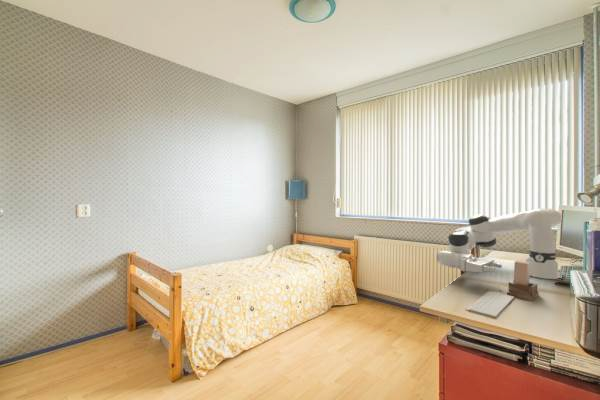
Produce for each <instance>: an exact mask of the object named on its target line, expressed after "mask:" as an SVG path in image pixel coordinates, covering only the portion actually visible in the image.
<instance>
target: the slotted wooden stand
mask: <svg viewBox="0 0 600 400" xmlns="http://www.w3.org/2000/svg"><path fill="white" fill-rule="evenodd" d="M507 293H508V294H507ZM513 294H514V295H513ZM506 295H509V296H514V299H515V298H517V299H520V300H524V301H528V302H531V301H533V300H534V299H535V298H536V297H537V296H539V291H538V283H533V282H529V286H525V285H520V284H516V283H514V280H513V282H510V281H509V282H508V291H507V292H506Z"/></svg>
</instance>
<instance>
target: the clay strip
mask: <svg viewBox="0 0 600 400" xmlns="http://www.w3.org/2000/svg"><path fill="white" fill-rule="evenodd" d="M513 266H514V267H513V268H514V271H513V273H514V274H513V281H514V283H516V284H520V285H525V286H529V283H531V282H530V280H531V279H530V278H531V276H530V262H526V261H521V260H515V261H514V265H513Z"/></svg>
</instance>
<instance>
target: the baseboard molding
mask: <svg viewBox="0 0 600 400" xmlns="http://www.w3.org/2000/svg"><path fill="white" fill-rule="evenodd" d="M494 291H495V290H493V289H492V291H490V292H489V291H488V289H486V290H484V292H485V293H484V294H483V295H482V296H480V297H479V298H478V299H477V300H476V301H474V302H473V303H471V304H470V305H469V306H468V307H466V309H465V311H467V312H471V313H475V314H478V315H480V316H485V317H488V318H491V319H492V318H493V319H496V318H497V317H498V316H499V315H500V314H501V313H502V312H503V310H504V309H506V308H507V306H508V305H509V304H510V303H511V302H512V301H513V299H515V297H514V296H509V295H507V294H508V293H507V292H506V293H504V292H503V291H502V290H499V293H498V292H496V291H495V292H494ZM502 293H504V294H502ZM513 295H514V294H513Z"/></svg>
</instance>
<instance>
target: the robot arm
mask: <svg viewBox="0 0 600 400" xmlns="http://www.w3.org/2000/svg"><path fill="white" fill-rule="evenodd" d="M562 221H563V215H562V213H560V211H558V210H555V209H553V208H535V209H532V210H529V211H522V212H517V213H509V214H505V215H500V216H497V217H492V218H490V217H489V216H486V215H484V214H475V215H472V216H471V217H470V218H469V219H468V225H469V226H470V229H459V230H456V231H455V232H452V233H450V234H449V235H448V236H447V237H448V238H447V239H448V245H449V250H438V252H437V255H436V259H437V263H438V264H439V265H441V266H444V267H448V268H452V269H455V268H456V269H459V270H460V271H462V272H472V273H482V272H484V271H485V272H486V271H487V272H489V271H490V272H495V271H496V268H497V269H502V268H503V265H502V263H498V262H495V260H494V259H491V258H484V257H475V255H474V254H470V252H469V251H470V250H472V249H474V248H475V246H478V247H480V248H482V249H483V248H484V249H485V248H487V249H488V248H492V247H494V246H496V244H497V238H496V237H495V234H497V233H498V234H508V233H515V232H524V231H529V237H530V244H529V245H530V247H529V248H530V249H529V252H528V256H529V257H528V258H526V259H525V262H530V277H534V278H539V279H545V280H559V279H558V278H559V272H561V270H560V269H559V263H558V262H557V253H556V238H555V237H554V232H553V230H552V229H553V228H554V227H556V226H558V225H559V224H561V222H562Z"/></svg>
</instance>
